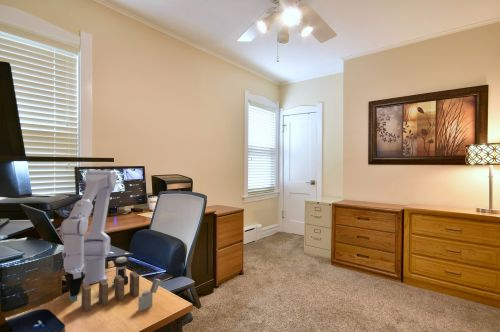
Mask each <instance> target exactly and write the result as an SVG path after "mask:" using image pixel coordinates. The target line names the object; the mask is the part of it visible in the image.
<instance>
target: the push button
mask: <svg viewBox="0 0 500 332" xmlns="http://www.w3.org/2000/svg"><path fill="white" fill-rule="evenodd" d="M129 262H130V261H129V258H127V257H126V256H120V257H117V258H116V259H115V260H113V265H114V267H115V276H118V275H120V276H121V277H122V278H123V279H124V285H128V283H129V276H127V266H128V265H129ZM113 286H114V287H115V277H114V278H113V281H112V282H109V284H108V287H113Z"/></svg>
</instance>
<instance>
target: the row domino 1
mask: <svg viewBox="0 0 500 332" xmlns="http://www.w3.org/2000/svg"><path fill="white" fill-rule="evenodd" d="M91 294H92V287H91V286H90V284H88V283H85V284H84V283H82V284H81V307H82V310H83V311H84V313H87V312H90V311H91V309H92V308H91V307H92V301H91V300H92V295H91Z"/></svg>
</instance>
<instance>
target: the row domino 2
mask: <svg viewBox="0 0 500 332" xmlns="http://www.w3.org/2000/svg"><path fill="white" fill-rule="evenodd" d="M98 302H99V303H100V305H101V306H102V307H106V306H108V305H109V283H108V281H107V280H105V279H102V280H99V282H98Z"/></svg>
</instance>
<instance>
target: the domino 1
mask: <svg viewBox="0 0 500 332" xmlns="http://www.w3.org/2000/svg"><path fill="white" fill-rule="evenodd" d="M68 297H69V300H70V302H71V303H73V302H76V301H78V295H77V296H73V297H71V295H70V290H69V291H68Z"/></svg>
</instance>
